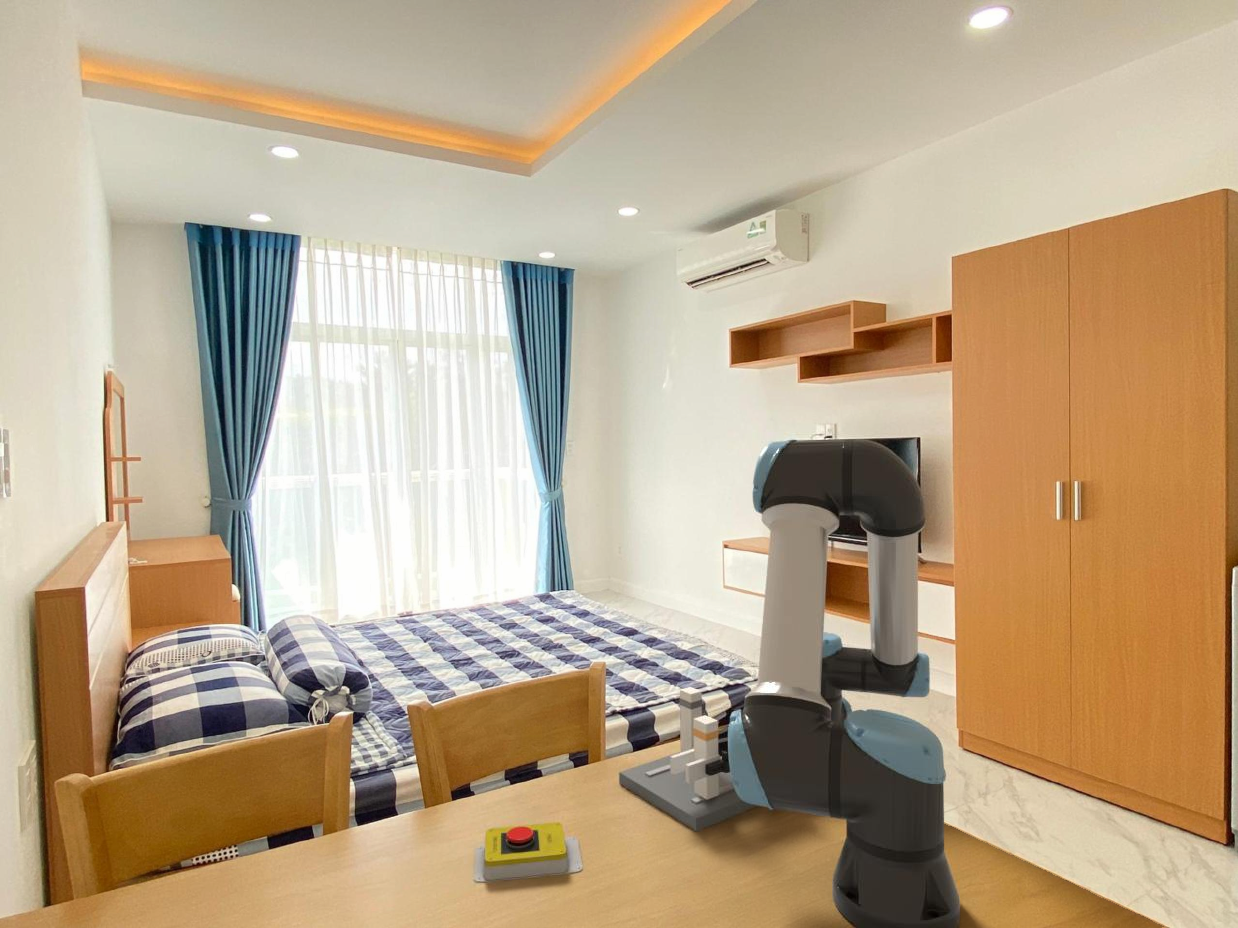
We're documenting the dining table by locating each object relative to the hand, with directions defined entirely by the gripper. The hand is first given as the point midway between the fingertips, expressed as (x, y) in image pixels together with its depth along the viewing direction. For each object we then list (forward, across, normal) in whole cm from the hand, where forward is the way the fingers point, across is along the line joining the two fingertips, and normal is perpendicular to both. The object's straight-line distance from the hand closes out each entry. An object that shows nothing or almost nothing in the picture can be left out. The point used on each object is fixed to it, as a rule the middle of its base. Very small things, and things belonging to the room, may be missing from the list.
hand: (679, 769), depth 117 cm
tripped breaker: (-6, 0, -5) cm, 8 cm away
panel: (-9, +6, -8) cm, 13 cm away
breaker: (-13, +12, -5) cm, 18 cm away
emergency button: (+24, +5, -9) cm, 26 cm away
